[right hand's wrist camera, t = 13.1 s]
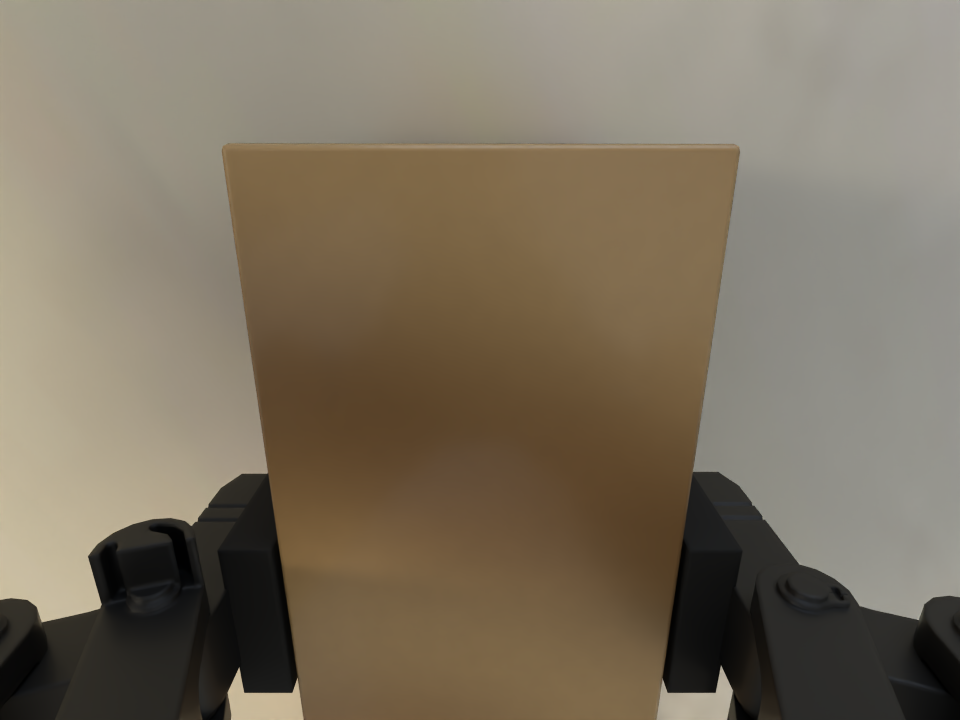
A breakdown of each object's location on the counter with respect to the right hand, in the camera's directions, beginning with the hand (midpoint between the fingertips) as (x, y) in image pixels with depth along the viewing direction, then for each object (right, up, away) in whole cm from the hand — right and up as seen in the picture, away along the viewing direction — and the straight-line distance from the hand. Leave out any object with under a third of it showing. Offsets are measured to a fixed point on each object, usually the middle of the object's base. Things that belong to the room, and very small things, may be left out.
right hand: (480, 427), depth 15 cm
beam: (0, -24, +10) cm, 26 cm away
